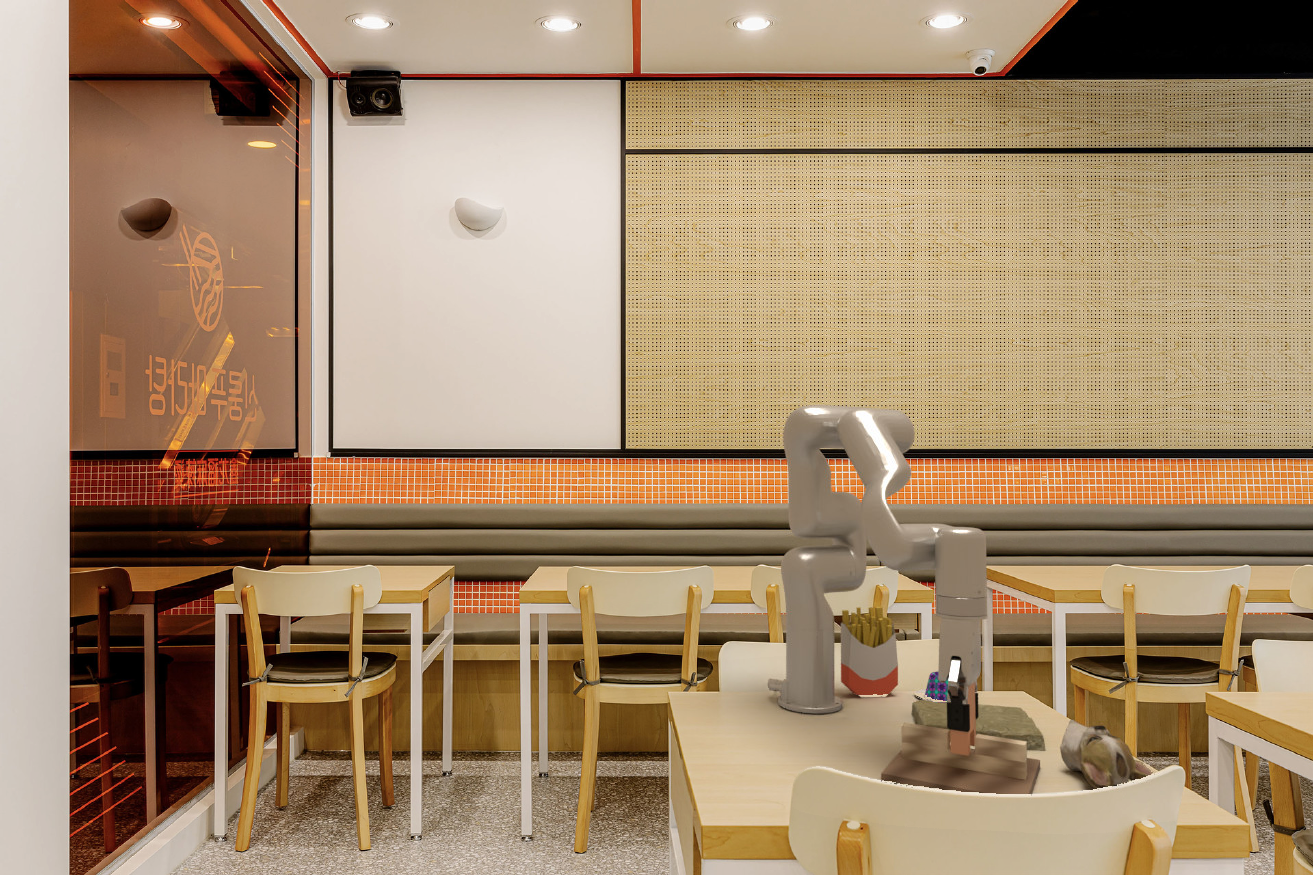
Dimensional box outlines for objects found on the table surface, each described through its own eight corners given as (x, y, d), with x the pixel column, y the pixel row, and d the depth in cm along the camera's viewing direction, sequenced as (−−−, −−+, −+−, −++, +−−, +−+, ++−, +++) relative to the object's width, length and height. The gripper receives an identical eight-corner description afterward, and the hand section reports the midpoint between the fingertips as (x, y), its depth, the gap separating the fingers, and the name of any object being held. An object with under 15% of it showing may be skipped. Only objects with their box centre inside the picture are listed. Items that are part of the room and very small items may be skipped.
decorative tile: (911, 715, 159) (911, 696, 159) (1022, 722, 155) (1022, 703, 155) (922, 746, 141) (921, 725, 141) (1048, 755, 137) (1048, 733, 137)
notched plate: (950, 752, 124) (949, 685, 124) (959, 740, 130) (958, 676, 130) (968, 755, 122) (967, 687, 123) (976, 742, 129) (974, 678, 129)
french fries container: (898, 697, 170) (898, 609, 171) (849, 699, 168) (849, 610, 169) (888, 691, 175) (888, 606, 176) (840, 693, 173) (840, 607, 174)
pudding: (979, 696, 172) (979, 671, 172) (971, 710, 162) (971, 684, 162) (920, 689, 178) (920, 664, 178) (908, 702, 167) (908, 676, 168)
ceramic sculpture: (1101, 707, 132) (1173, 744, 117) (1100, 761, 132) (1172, 804, 117) (1040, 711, 130) (1105, 747, 115) (1039, 765, 130) (1104, 809, 116)
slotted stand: (881, 781, 123) (880, 739, 123) (910, 745, 139) (910, 708, 140) (1026, 809, 113) (1026, 763, 113) (1040, 767, 129) (1039, 727, 130)
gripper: (947, 598, 137) (948, 707, 136) (924, 612, 122) (925, 734, 121) (995, 601, 133) (997, 713, 132) (977, 616, 118) (979, 743, 117)
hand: (963, 722), depth 126 cm, fingers closed on notched plate, 7 cm apart
